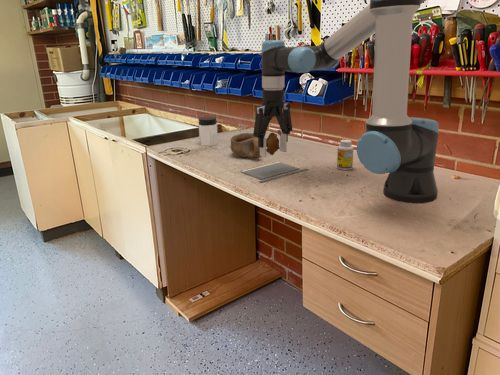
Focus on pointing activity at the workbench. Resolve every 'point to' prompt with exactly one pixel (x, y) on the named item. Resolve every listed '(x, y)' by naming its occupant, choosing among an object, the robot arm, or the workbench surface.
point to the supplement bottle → (345, 155)
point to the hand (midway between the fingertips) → (273, 153)
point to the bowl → (245, 145)
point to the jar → (208, 131)
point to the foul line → (283, 175)
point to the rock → (272, 143)
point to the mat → (269, 170)
